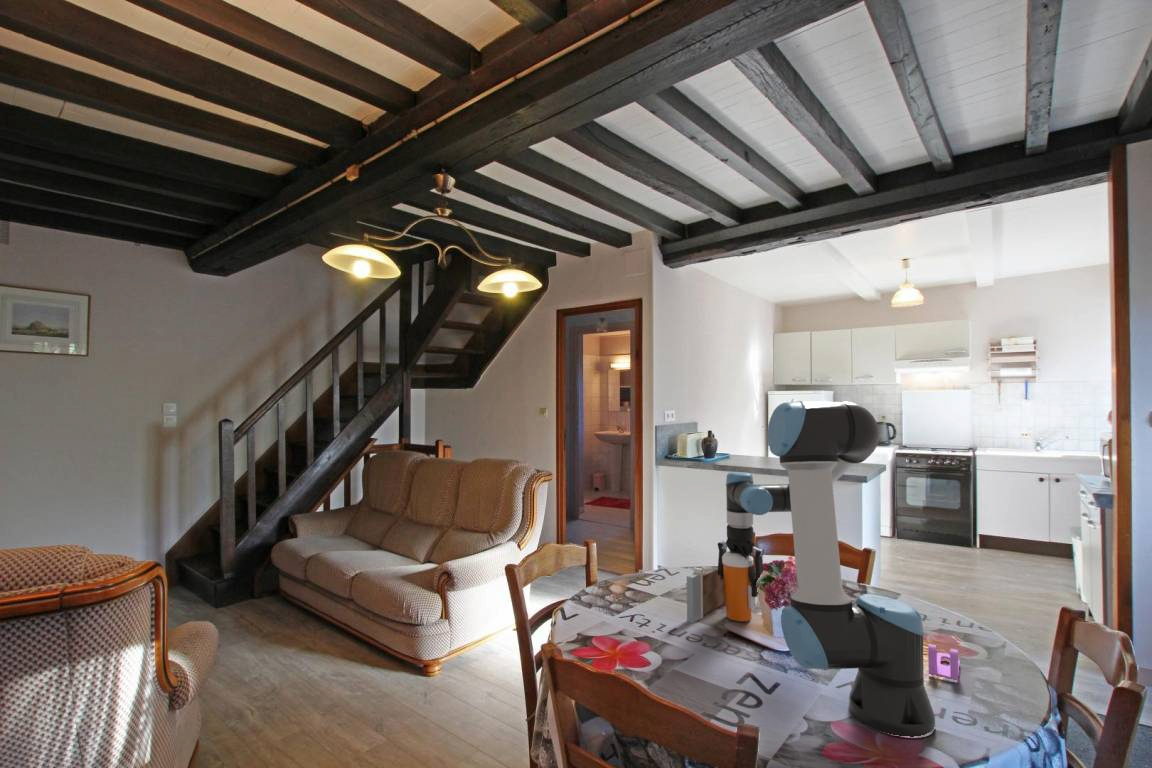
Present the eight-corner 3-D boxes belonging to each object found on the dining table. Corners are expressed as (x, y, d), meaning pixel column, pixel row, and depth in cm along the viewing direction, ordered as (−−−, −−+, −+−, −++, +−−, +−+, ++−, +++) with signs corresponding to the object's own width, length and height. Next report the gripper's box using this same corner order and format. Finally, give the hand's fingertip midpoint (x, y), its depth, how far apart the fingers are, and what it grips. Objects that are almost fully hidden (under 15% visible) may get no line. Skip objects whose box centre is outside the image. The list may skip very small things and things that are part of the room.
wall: (693, 623, 156) (693, 573, 157) (686, 620, 158) (685, 571, 159) (734, 600, 174) (733, 555, 174) (726, 598, 176) (726, 554, 176)
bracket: (958, 685, 123) (957, 653, 123) (928, 677, 126) (928, 647, 126) (960, 662, 133) (959, 634, 133) (933, 656, 137) (932, 628, 137)
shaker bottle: (722, 620, 157) (721, 551, 158) (723, 609, 165) (722, 543, 166) (755, 624, 154) (753, 553, 155) (754, 612, 163) (753, 545, 163)
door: (704, 616, 160) (704, 577, 160) (697, 614, 162) (697, 575, 162) (727, 604, 170) (726, 567, 170) (720, 602, 171) (719, 565, 172)
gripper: (777, 528, 156) (778, 609, 155) (717, 518, 169) (717, 592, 169) (765, 533, 151) (766, 616, 150) (704, 522, 164) (705, 599, 163)
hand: (740, 603), depth 159 cm, fingers open, 6 cm apart
